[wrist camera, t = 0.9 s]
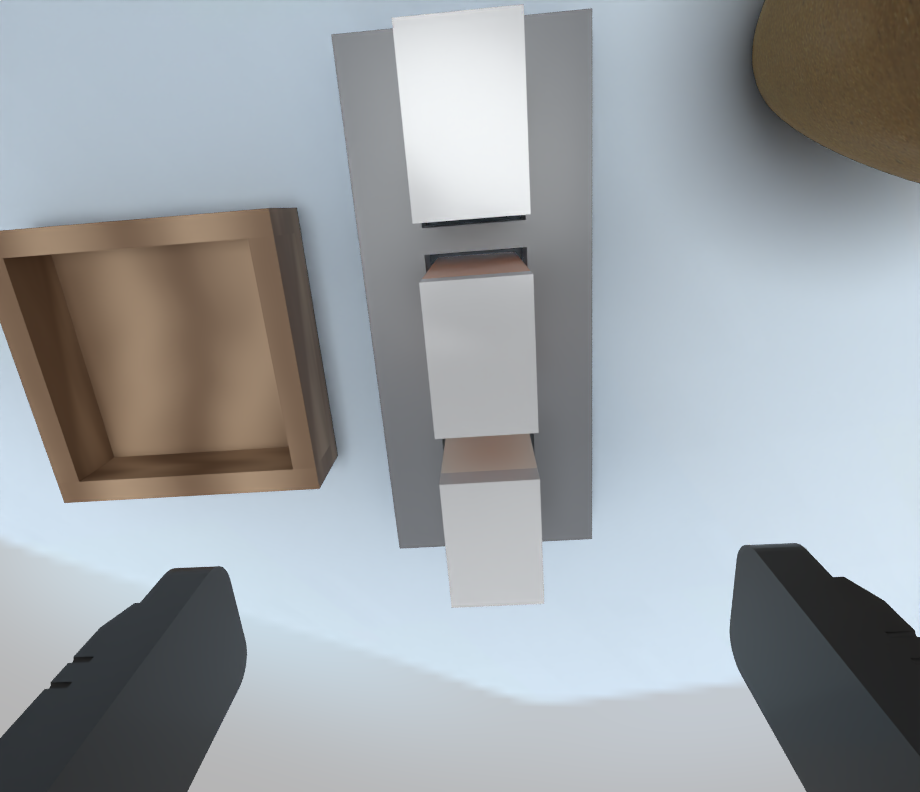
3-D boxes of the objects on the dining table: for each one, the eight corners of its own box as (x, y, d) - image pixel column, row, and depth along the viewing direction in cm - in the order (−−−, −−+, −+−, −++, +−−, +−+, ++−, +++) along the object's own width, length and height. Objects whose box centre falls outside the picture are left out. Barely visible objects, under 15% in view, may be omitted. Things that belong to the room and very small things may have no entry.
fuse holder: (582, 510, 33) (591, 538, 30) (406, 519, 34) (399, 548, 31) (579, 30, 25) (592, 8, 22) (347, 53, 26) (331, 34, 23)
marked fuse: (519, 362, 30) (538, 433, 21) (447, 367, 31) (434, 439, 21) (514, 251, 28) (533, 274, 19) (437, 257, 29) (419, 282, 19)
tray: (111, 469, 33) (64, 502, 30) (35, 229, 29) (-32, 233, 25) (337, 455, 33) (319, 488, 29) (296, 207, 28) (268, 208, 24)
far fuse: (524, 489, 33) (544, 603, 24) (458, 493, 33) (451, 607, 24) (520, 396, 31) (539, 479, 22) (450, 400, 31) (439, 484, 22)
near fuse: (512, 210, 28) (530, 214, 18) (434, 217, 28) (412, 223, 19) (506, 77, 26) (523, 4, 16) (422, 85, 26) (391, 17, 17)
